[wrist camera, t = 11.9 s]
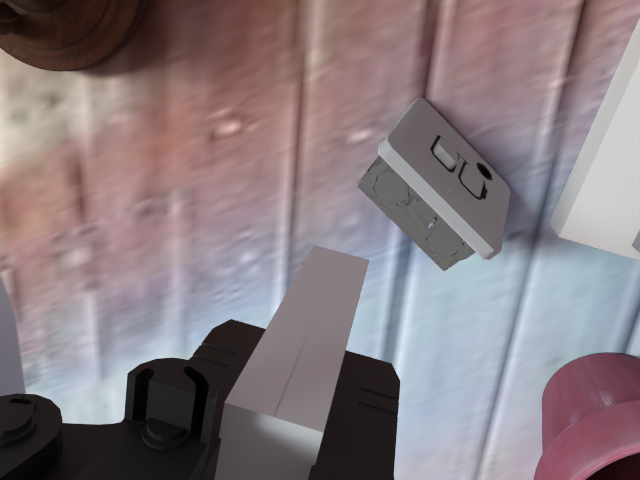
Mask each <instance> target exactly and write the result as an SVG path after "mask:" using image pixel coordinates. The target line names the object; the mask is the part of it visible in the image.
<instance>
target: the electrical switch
mask: <svg viewBox="0 0 640 480" xmlns="http://www.w3.org/2000/svg"><path fill="white" fill-rule="evenodd" d="M378 154H379V156H378V157H377V159H376V160H375V161H374V163H373V164H372V165H371V167H370V168H369V169H368V171H367V172H366V173H365V175H364V176H363V177H362V179H361V180H360V181H359V183H360V182H361V181H362V180H363V179H364V178H365V177H366V176H367V177H366V178H365V179H364V180H363V181H362V182H361V183H360V184H359V185H358V187H359V188H360V189H361V190H362V191H363V192H364V193H365V194H366V195H367V196H368V197H369V198H370V199H371V200H372V201H373V202H374V203H375V204H376V205H377V206H378V207H379V208H380V209H381V210H382V211H383V212H384V213H385V214H386V215H387V216H388V217H389V218H390V219H391V220H392V221H393V222H394V223H395V224H396V225H397V226H398V227H399V228H400V229H401V230H402V231H404V232H405V233H406V234H407V235H408V236H409V237H410V238H411V239H412V240H413V241H414V242H415V243H416V244H417V245H418V246H419V247H420V248H421V249H422V250H423V251H424V252H425V253H426V254H427V255H428V256H429V257H430V258H431V259H432V260H433V261H434V262H435V263H436V264H437V265H438V266H439V267H440V268H441V269H442V270H443V271H445V270H447V269H448V268H450V267H451V266H453V265H454V264H455V263H457V262H458V261H461V260H463V259H466V258H468V257H469V256H471V255H472V254H474V253H477V254H478V255H479V256H480V257H481V258H482V259H488V260H490V259H491V258H492V257H493V256H495V255H496V254H498V253H499V252H500V251H501V247H502V241H503V235H504V230H505V224H506V218H507V212H508V206H509V200H510V194H511V191H510V189H509V187H508V185H507V183H506V182H505V181H504V180H503V179H502V178H501V177H500V176H499V175H498V174H497V173H496V172H495V171H494V170H493V169H492V168H491V167H490V166H489V165H488V164H487V163H486V162H485V161H484V160H483V158H482V157H481V156H480V155H479V154H478V153H477V152H476V151H475V150H474V149H473V148H472V147H471V146H470V145H469V144H468V143H467V142H466V141H465V140H464V139H463V138H462V137H461V136H460V135H459V134H458V133H457V132H456V131H455V130H454V129H453V128H452V127H451V126H450V125H449V124H448V123H447V122H446V121H445V120H444V119H443V117H442V116H441V115H440V114H439V113H438V112H437V111H436V110H435V109H434V108H433V107H432V106H431V105H430V104H429V103H428V102H427V101H426V100H425V99H423V98H420V97H418V98H417V99H416V100H415V101H413V102H412V103H411V104H410V105H409V106H408V107H407V108H406V110H405V112H404V113H403V115H402V116H401V118H400V119H399V121H398V122H397V124H396V125H395V126H394V128H393V129H392V131H391V132H390V134H389V135H388V137H387V138H386V139H384V138H383V139H382V140H381V141H380V143H379V145H378ZM390 171H391V172H390ZM388 172H390V173H388ZM375 181H376V182H375ZM374 184H375V185H374ZM408 188H409V192H410V193H409V194H408ZM378 197H379V198H378ZM415 198H416V199H417V200H416V199H415ZM379 199H380V201H379ZM418 200H419V201H418ZM409 202H410V205H408V206H406V205H407V204H408V203H409ZM400 203H401V204H400ZM398 204H400V205H398ZM405 206H406V207H405ZM434 217H435V218H434ZM430 223H434V224H433V225H432V226H431V227H430V228H429V229H428V225H429V224H430ZM436 254H437V255H436Z"/></svg>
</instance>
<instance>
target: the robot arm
mask: <svg viewBox="0 0 640 480" xmlns="http://www.w3.org/2000/svg"><path fill="white" fill-rule="evenodd" d="M368 263H369V260H367V259H363V258H360V257H356V256H352V255H348V254H345V253H341V252H337V251H333V250H330V249H326V248H322V247H319V246H315V245H314V246H313V248H312V250H311V252H310V253H309V255H308V257H307V259H306V260H305V262H304V264H303V266H302V267H301V269H300V271H299V273H298V274H297V276H296V278H295V280H294V281H293V283H292V285H291V287H290V288H289V290H288V292H287V294H286V295H285V297H284V299H283V301H282V302H281V304H280V306H279V308H278V309H277V311H276V313H275V315H274V317H273V318H272V320H271V322H270V324H269V325H268V327H267V329H263V328H260V327H256V326H253V325H250V324H246V323H243V322H239V321H236V320H232V319H231V320H229V321H227V322H225V323H223V324H221V325H219V326H217V327H215V328H213V329H212V330H211V332H210V333H209V334H208V336H207V337H206V338H205V339H204V341H203V342H202V345H201V346H199V347H198V349H197V350H196V351H195V353H194V354H193V357H192V358H190V359H189V360H185V359H178V358H163V359H155V360H152V361H149V362H146V363H143V364H140V365H139V366H137V367H136V368H134V369H133V370H132V371H130V372H129V373H128V377H127V390H126V404H125V417H124V419H123V421H122V422H120V423H115V424H103V425H91V424H68V423H62V416H61V411H60V408H58V407H57V406H56V405H55V404H54V403H53V402H52V401H51V400H50V399H47V398H44V397H41V396H38V395H35V394H12V395H6V396H0V480H394V461H395V447H396V433H397V419H398V417H397V415H398V405H399V402H398V400H399V391H400V380H399V378H398V376H397V374H396V372H395V370H394V368H393V366H392V364H391V363H388V362H384V361H381V360H377V359H374V358H370V357H367V356H363V355H360V354H356V353H353V352H349V351H346V346H347V342H348V338H349V335H350V331H351V327H352V323H353V319H354V316H355V312H356V308H357V304H358V301H359V297H360V293H361V289H362V285H363V282H364V278H365V274H366V270H367V266H368Z"/></svg>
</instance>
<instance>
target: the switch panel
mask: <svg viewBox="0 0 640 480" xmlns="http://www.w3.org/2000/svg"><path fill="white" fill-rule="evenodd" d="M548 224H549V225H550V226H551V228H552V229H553V230H554V231H555V233H556V234H557V235H558V237H560V238H564V239H567V240H571V241H574V242H578V243H581V244H584V245H588V246H591V247H595V248H598V249H602V250H605V251H608V252H612V253H615V254H619V255H622V256H626V257H629V258H633V259H636V260H639V261H640V18H639V20H638V22H637V25H636V27H635V29H634V31H633V34H632V36H631V38H630V40H629V43H628V45H627V47H626V49H625V52H624V54H623V56H622V59H621V61H620V63H619V65H618V68H617V70H616V72H615V74H614V77H613V79H612V81H611V83H610V86H609V88H608V90H607V92H606V95H605V97H604V99H603V101H602V104H601V106H600V108H599V110H598V113H597V115H596V117H595V119H594V122H593V124H592V126H591V128H590V131H589V133H588V135H587V137H586V140H585V142H584V144H583V146H582V149H581V151H580V153H579V155H578V158H577V160H576V162H575V165H574V167H573V169H572V171H571V174H570V176H569V178H568V180H567V183H566V185H565V187H564V189H563V192H562V194H561V196H560V198H559V201H558V203H557V205H556V207H555V210H554V212H553V214H552V216H551V219H550V221H549V223H548Z"/></svg>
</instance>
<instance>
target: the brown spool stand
mask: <svg viewBox="0 0 640 480" xmlns="http://www.w3.org/2000/svg"><path fill="white" fill-rule="evenodd" d="M146 4H147V0H0V48H1V49H3V50H4V51H5V52H6V53H8V54H9V55H11V56H13V57H14V58H16V59H18V60H20V61H22V62H23V63H26V64H28V65H31V66H33V67H37V68H40V69H44V70H50V71H79V70H85V69H89V68H92V67H95V66H97V65H100V64H102V63H104V62H106V61H107V60H109V59H111V58H112V57H113V56H114V55H116V54H117V53H118V52H119V51H120V50H121V49H122V48H123V47H124V46H125V45H126V44H127V43H128V41H129V40H130V39H131V37H132V36H133V34H134V33H135V31H136V29H137V27H138V26H139V24H140V22H141V19H142V17H143V14H144V11H145V8H146Z"/></svg>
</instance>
